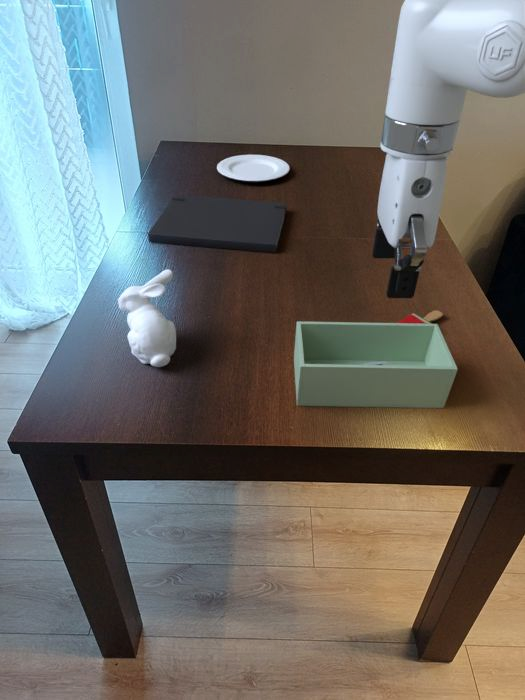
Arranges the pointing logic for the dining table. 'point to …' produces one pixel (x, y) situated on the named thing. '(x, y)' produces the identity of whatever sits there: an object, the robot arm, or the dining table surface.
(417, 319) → the popsicle
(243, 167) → the plate
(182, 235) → the notebook
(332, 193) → the dining table surface
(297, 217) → the dining table surface
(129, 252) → the dining table surface
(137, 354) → the rabbit
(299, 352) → the bin
